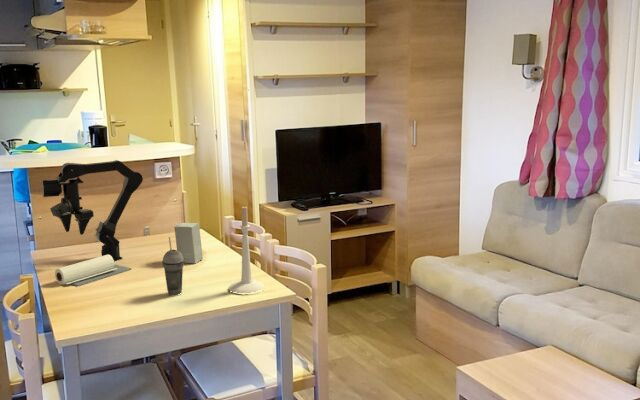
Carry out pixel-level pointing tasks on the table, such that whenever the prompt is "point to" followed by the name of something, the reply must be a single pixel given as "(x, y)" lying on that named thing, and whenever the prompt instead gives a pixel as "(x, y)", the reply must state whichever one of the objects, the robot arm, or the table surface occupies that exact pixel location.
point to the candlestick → (245, 263)
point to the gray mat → (102, 275)
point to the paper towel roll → (84, 269)
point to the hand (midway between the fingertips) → (74, 233)
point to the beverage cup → (173, 270)
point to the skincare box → (189, 242)
